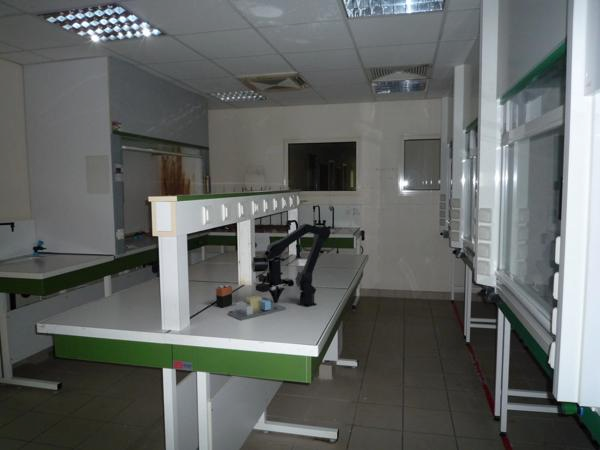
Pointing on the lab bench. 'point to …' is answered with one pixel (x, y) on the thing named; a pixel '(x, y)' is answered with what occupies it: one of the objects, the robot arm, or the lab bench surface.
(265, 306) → the block
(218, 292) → the battery
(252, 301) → the brass block
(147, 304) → the lab bench surface
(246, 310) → the vise
